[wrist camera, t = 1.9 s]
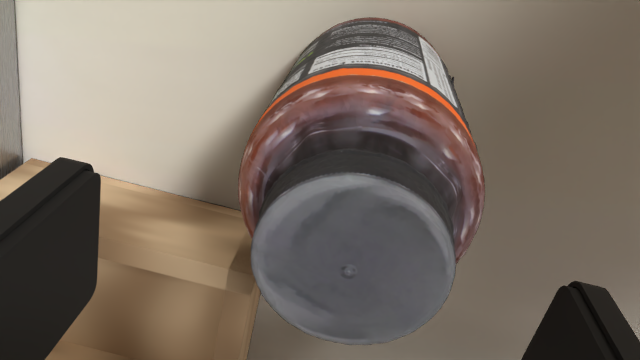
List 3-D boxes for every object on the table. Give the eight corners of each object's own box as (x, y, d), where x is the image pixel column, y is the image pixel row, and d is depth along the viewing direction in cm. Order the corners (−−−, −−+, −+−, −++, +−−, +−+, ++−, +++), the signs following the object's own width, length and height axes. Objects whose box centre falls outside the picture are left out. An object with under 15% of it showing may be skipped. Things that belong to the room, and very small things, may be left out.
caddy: (275, 220, 23) (254, 275, 20) (239, 391, 28) (217, 460, 25) (31, 158, 23) (-34, 202, 20) (39, 340, 28) (-12, 401, 25)
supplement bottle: (418, 182, 22) (440, 418, 12) (277, 141, 22) (176, 342, 12) (475, 40, 19) (571, 187, 9) (314, -9, 19) (225, 84, 9)
